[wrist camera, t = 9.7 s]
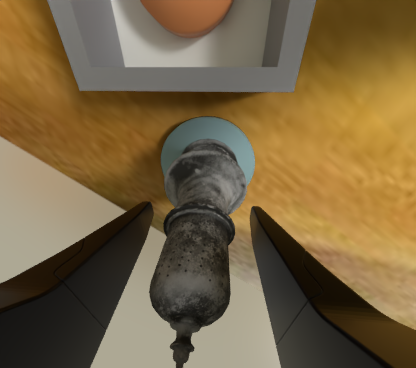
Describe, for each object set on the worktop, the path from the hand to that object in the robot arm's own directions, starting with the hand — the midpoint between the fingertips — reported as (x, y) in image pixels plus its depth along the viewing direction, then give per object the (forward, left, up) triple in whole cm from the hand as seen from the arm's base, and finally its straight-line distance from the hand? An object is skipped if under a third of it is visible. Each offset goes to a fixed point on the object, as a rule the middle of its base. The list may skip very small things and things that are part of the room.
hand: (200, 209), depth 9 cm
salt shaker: (0, 0, -6) cm, 6 cm away
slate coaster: (0, 0, -7) cm, 7 cm away
